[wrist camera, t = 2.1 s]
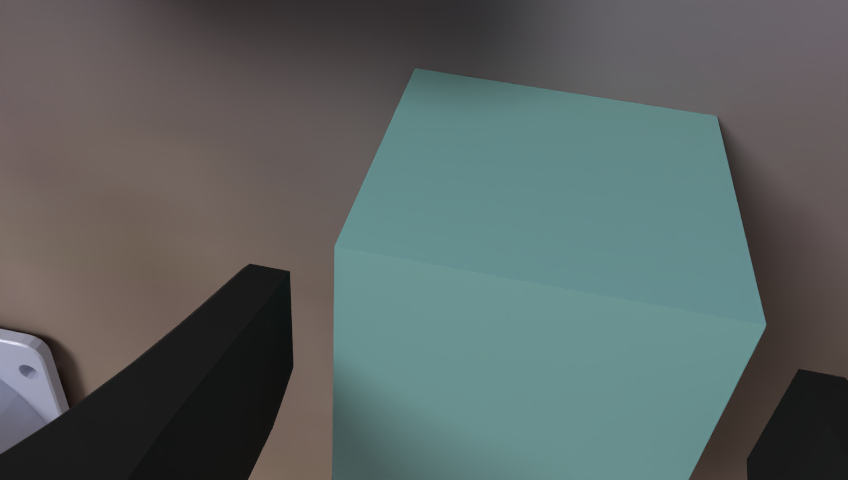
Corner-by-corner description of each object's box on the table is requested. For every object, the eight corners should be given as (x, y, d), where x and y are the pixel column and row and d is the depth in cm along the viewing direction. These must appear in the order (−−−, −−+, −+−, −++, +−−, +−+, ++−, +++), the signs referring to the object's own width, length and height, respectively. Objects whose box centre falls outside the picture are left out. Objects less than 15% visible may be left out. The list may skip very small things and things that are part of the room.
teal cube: (638, 330, 16) (648, 557, 12) (398, 285, 16) (332, 489, 12) (716, 114, 12) (766, 325, 9) (415, 66, 13) (334, 246, 9)
